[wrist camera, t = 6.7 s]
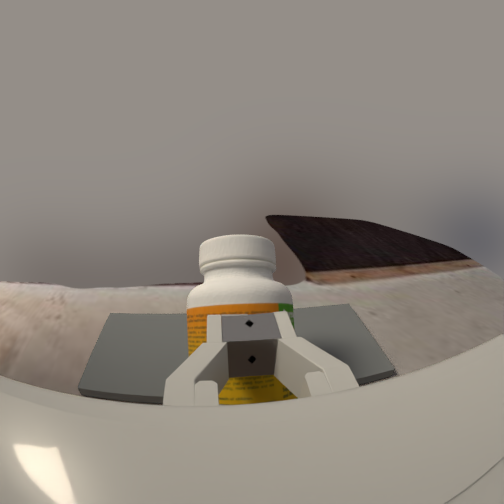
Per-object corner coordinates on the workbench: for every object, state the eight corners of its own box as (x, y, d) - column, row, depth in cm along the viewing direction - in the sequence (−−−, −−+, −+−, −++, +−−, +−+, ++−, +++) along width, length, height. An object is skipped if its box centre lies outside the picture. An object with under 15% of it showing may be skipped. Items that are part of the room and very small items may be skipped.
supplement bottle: (307, 442, 10) (293, 225, 12) (182, 445, 10) (173, 232, 12) (292, 409, 15) (283, 256, 17) (204, 412, 15) (198, 261, 17)
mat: (81, 395, 14) (77, 387, 14) (112, 320, 22) (110, 313, 22) (391, 376, 17) (394, 369, 16) (346, 310, 25) (348, 303, 25)
